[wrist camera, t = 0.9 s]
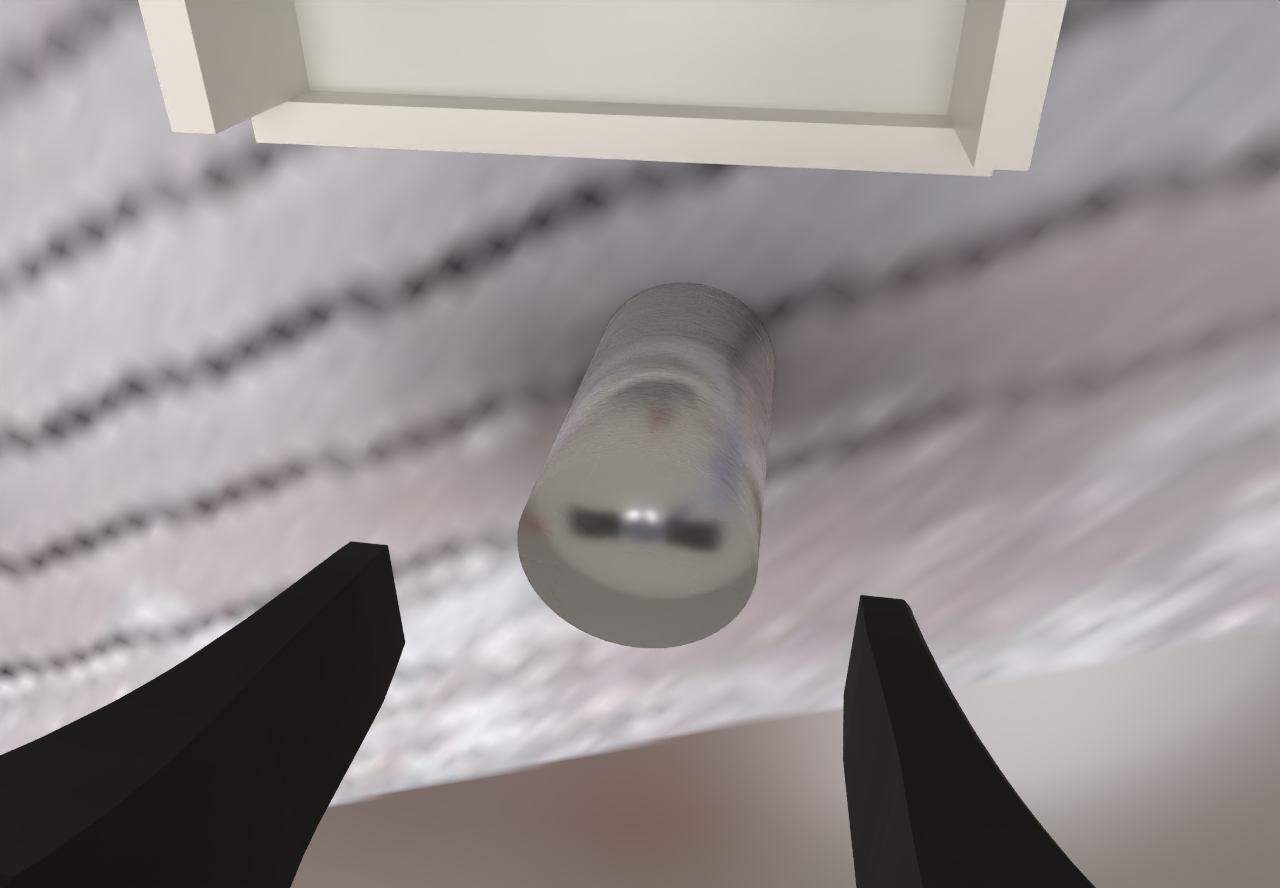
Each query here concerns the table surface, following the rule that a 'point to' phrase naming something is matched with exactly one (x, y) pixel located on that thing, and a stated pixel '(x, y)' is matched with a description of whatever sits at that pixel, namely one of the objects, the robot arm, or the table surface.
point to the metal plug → (657, 474)
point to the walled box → (622, 78)
